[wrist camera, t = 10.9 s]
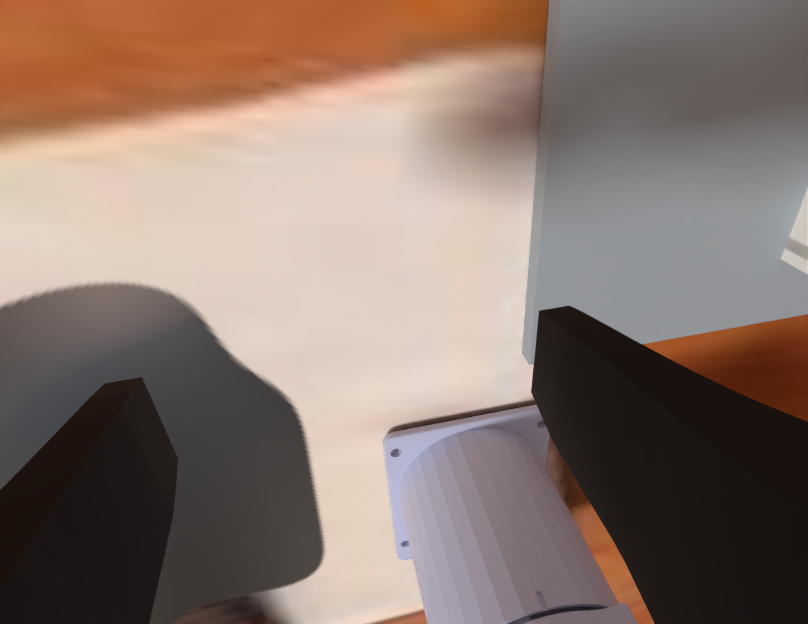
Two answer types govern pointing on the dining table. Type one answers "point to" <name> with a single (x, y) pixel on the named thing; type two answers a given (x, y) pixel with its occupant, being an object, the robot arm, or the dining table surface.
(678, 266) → the jig
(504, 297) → the dining table surface
